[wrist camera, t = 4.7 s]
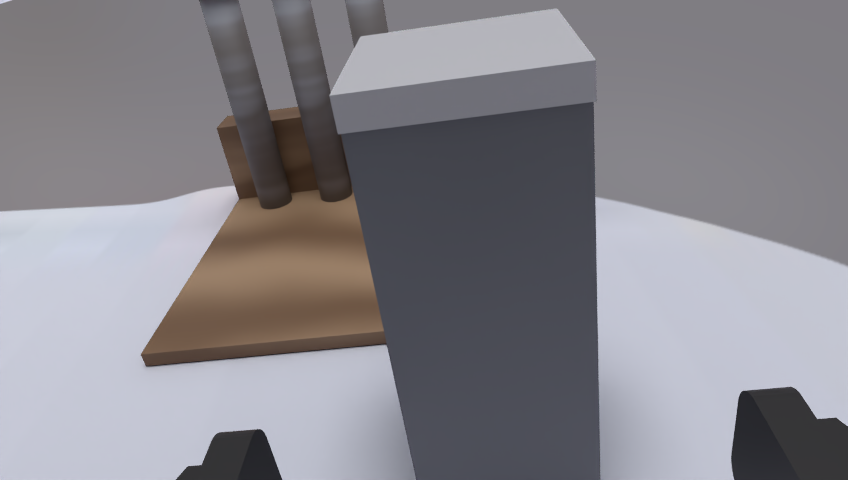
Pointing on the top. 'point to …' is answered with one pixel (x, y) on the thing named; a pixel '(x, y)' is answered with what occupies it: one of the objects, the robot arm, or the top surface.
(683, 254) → the top surface
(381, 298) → the plug block
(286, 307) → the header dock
